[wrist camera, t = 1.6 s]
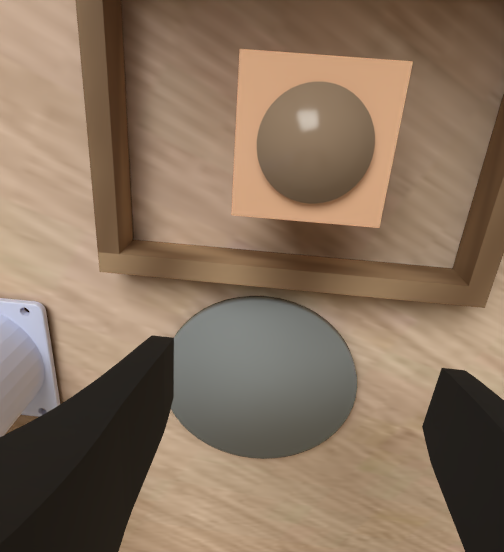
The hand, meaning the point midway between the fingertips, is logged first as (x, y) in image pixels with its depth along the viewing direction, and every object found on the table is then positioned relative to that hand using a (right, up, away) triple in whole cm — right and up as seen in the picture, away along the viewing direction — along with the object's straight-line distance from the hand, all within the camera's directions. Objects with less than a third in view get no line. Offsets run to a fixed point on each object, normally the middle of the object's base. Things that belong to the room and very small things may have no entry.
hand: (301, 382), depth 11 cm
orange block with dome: (+1, +9, +7) cm, 12 cm away
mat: (-1, -3, +13) cm, 13 cm away
